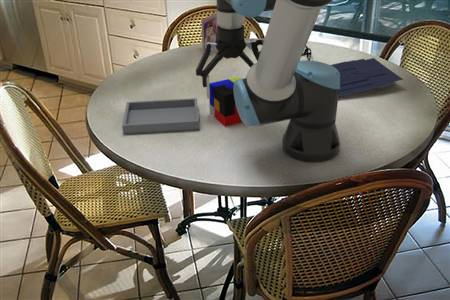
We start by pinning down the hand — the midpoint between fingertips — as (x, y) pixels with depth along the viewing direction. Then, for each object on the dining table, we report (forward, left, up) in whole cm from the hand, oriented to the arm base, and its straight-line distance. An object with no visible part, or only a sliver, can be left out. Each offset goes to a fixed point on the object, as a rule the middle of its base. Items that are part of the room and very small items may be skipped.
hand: (231, 95), depth 144 cm
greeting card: (+58, +5, -7) cm, 58 cm away
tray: (0, +21, -7) cm, 22 cm away
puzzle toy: (0, 0, -7) cm, 7 cm away
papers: (+20, -42, -7) cm, 46 cm away
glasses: (+47, -26, -7) cm, 54 cm away
